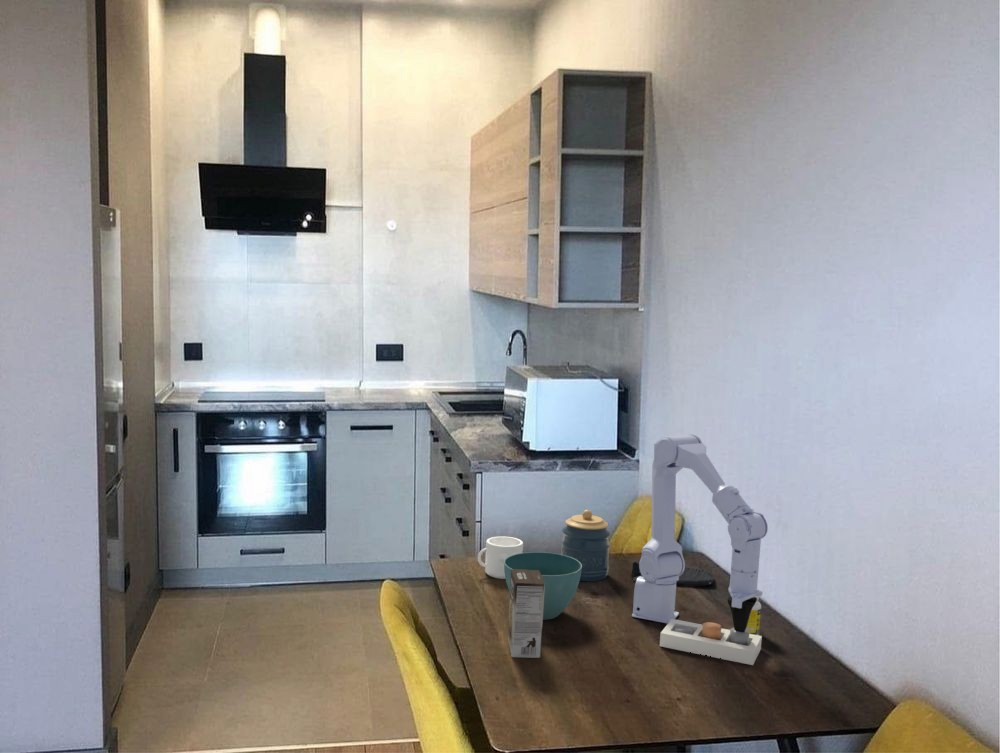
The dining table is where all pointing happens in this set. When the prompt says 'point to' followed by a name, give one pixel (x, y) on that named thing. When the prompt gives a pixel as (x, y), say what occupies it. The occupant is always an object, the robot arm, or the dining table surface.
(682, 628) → the left grey button
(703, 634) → the orange rounded dome
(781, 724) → the dining table surface
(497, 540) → the mug
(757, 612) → the supplement bottle
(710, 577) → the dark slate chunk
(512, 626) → the coffee box
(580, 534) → the canister
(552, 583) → the teal bowl
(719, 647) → the button panel
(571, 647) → the dining table surface
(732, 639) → the right grey button
